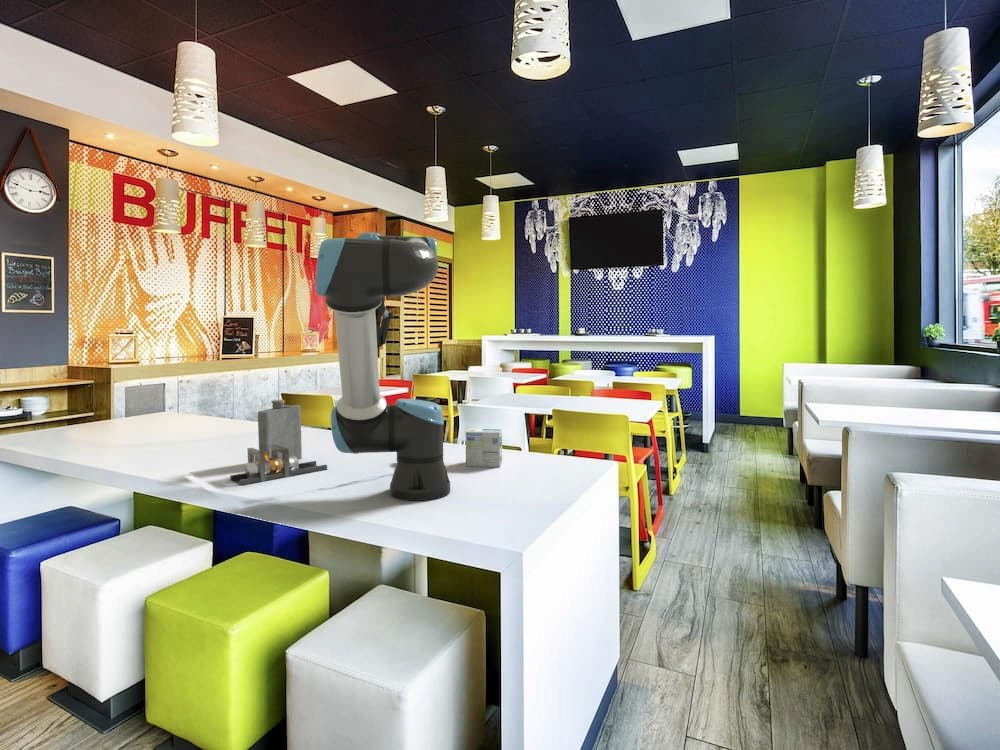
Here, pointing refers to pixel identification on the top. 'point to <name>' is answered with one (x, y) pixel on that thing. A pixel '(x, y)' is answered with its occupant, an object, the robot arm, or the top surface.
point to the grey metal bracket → (274, 453)
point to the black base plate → (279, 474)
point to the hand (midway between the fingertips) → (373, 369)
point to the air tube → (270, 467)
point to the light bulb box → (484, 447)
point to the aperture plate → (267, 456)
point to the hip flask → (280, 428)
